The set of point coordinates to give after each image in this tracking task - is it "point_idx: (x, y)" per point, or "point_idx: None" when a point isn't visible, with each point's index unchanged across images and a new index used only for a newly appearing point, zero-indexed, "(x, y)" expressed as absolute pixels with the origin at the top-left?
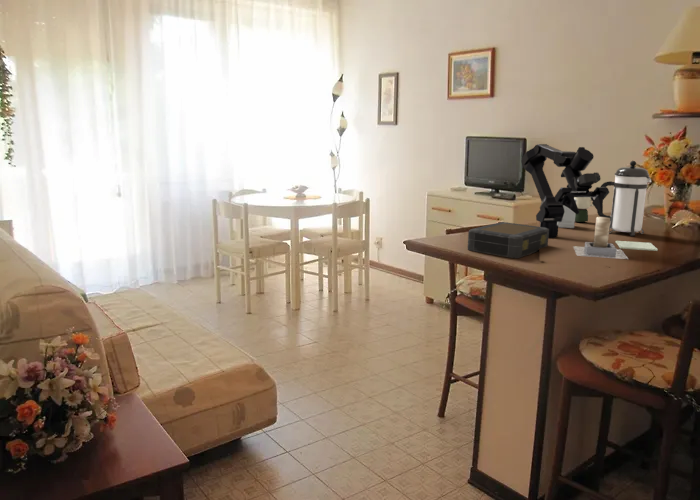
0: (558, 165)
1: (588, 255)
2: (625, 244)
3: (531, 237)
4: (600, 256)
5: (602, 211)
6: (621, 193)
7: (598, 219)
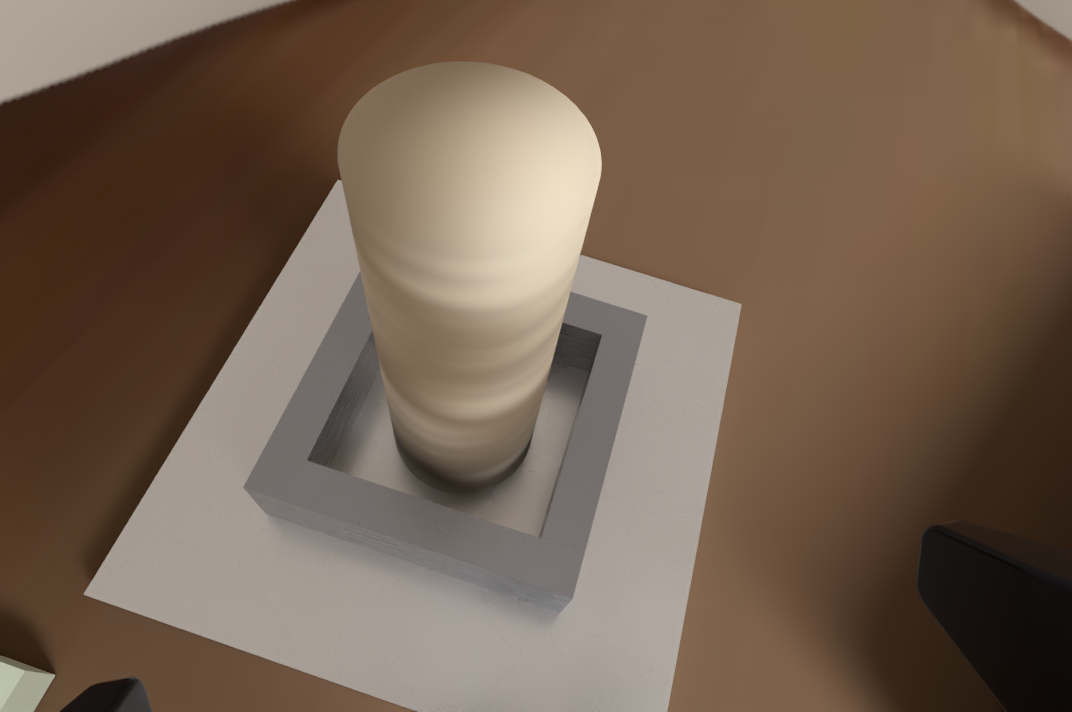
0: None
1: (636, 300)
2: None
3: None
4: None
5: (87, 698)
6: None
7: (582, 139)
